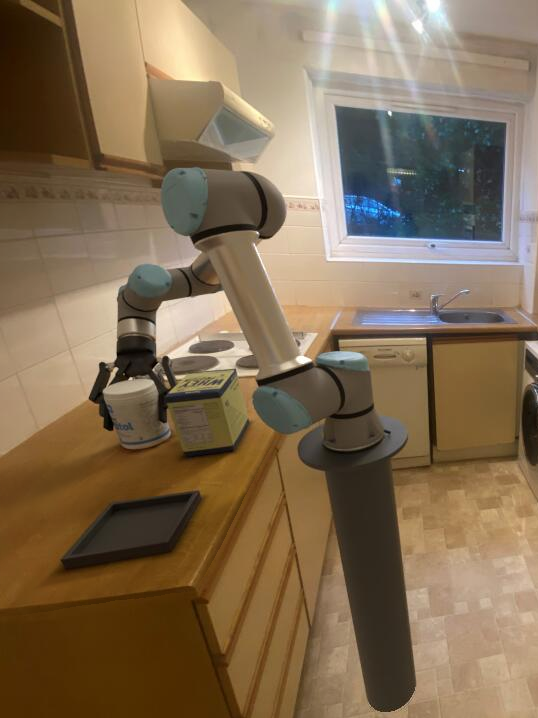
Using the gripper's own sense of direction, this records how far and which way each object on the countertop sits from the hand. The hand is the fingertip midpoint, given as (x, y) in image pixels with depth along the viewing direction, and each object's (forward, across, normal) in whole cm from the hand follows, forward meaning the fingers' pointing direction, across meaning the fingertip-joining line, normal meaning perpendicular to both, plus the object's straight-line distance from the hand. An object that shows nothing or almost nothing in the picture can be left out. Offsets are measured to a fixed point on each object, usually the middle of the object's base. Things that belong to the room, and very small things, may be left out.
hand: (136, 425), depth 101 cm
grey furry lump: (-21, +8, -30) cm, 38 cm away
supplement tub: (+2, 0, -6) cm, 7 cm away
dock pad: (+28, -8, +20) cm, 36 cm away
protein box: (+6, -16, -3) cm, 17 cm away
